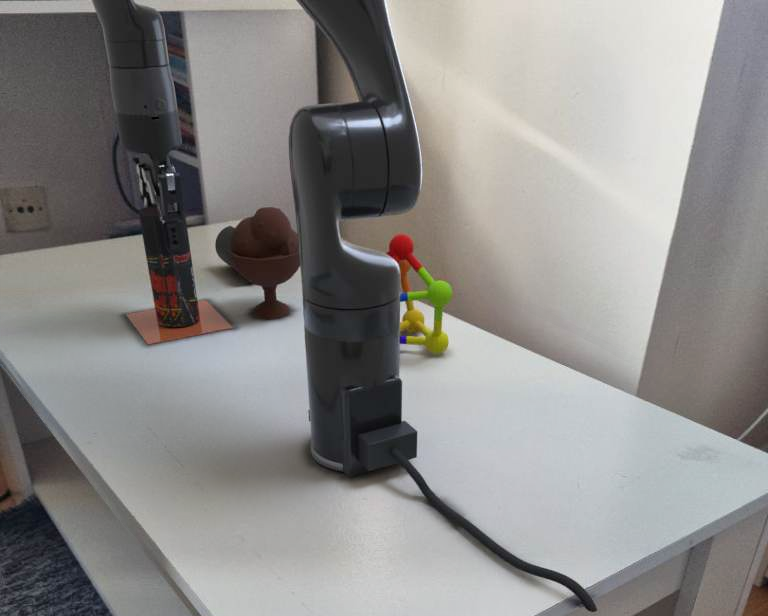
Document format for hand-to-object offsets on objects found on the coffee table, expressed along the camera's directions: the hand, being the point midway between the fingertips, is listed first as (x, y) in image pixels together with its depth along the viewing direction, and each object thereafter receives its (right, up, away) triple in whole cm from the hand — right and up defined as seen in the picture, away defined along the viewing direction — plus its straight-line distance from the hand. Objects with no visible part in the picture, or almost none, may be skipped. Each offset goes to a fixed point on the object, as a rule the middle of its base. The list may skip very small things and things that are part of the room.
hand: (167, 244), depth 108 cm
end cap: (+7, +2, +23) cm, 24 cm away
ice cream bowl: (+13, -7, +9) cm, 17 cm away
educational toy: (+31, -14, -1) cm, 34 cm away
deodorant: (0, -9, +6) cm, 11 cm away
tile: (0, -9, +6) cm, 11 cm away
